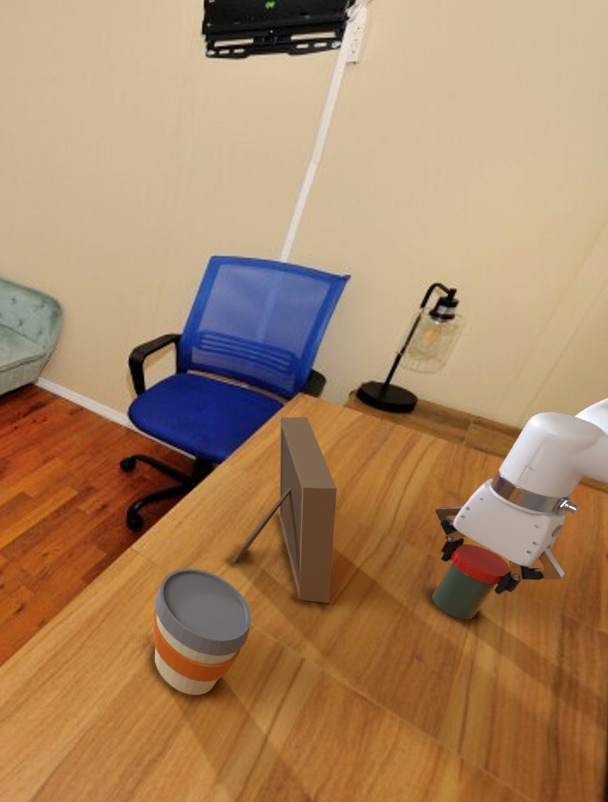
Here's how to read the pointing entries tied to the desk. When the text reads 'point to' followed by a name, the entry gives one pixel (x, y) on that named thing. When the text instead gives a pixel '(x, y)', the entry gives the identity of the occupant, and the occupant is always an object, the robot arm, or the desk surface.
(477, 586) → the jam jar
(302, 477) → the photo frame
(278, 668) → the desk surface
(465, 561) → the jam lid
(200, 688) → the reusable coffee cup
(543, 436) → the robot arm
